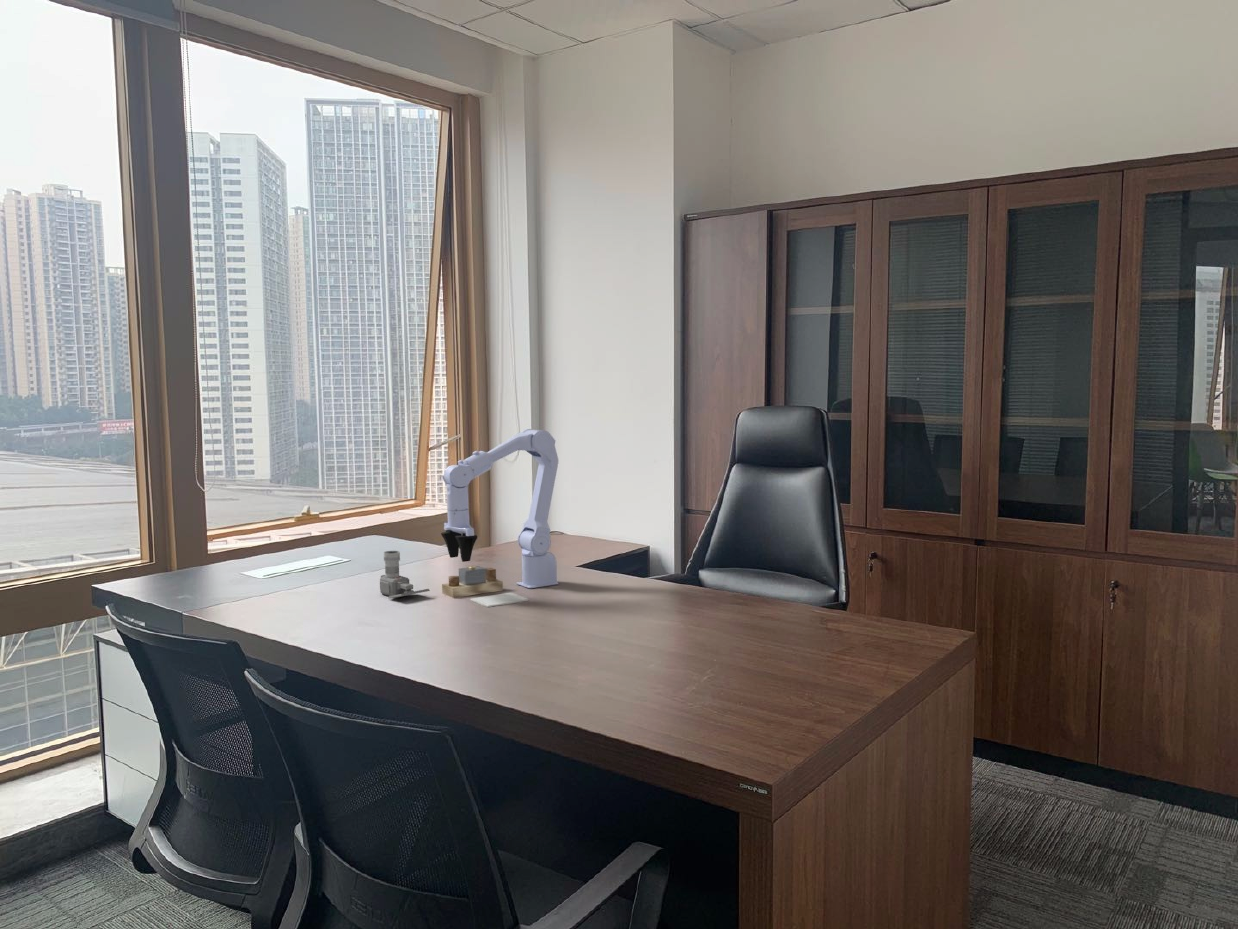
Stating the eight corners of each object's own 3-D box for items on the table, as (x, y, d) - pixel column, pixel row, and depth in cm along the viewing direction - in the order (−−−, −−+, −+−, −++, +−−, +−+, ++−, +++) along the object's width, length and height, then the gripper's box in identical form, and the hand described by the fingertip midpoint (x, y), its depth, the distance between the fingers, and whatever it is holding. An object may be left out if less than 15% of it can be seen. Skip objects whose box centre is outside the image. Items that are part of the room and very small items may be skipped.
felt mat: (510, 594, 254) (510, 592, 254) (528, 600, 246) (528, 599, 246) (470, 600, 247) (470, 598, 247) (487, 607, 239) (487, 605, 239)
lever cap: (478, 580, 261) (478, 564, 260) (486, 582, 257) (485, 567, 257) (459, 582, 257) (458, 567, 257) (466, 585, 254) (465, 569, 253)
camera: (399, 548, 260) (429, 555, 249) (400, 589, 261) (429, 599, 251) (371, 552, 254) (400, 560, 243) (372, 595, 255) (401, 604, 245)
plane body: (491, 586, 264) (490, 566, 264) (502, 590, 259) (502, 570, 258) (442, 593, 256) (441, 572, 255) (453, 597, 250) (452, 576, 250)
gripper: (433, 508, 255) (435, 557, 257) (456, 513, 244) (457, 565, 245) (456, 505, 259) (458, 554, 261) (480, 511, 248) (482, 561, 249)
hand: (459, 559), depth 253 cm, fingers open, 7 cm apart
